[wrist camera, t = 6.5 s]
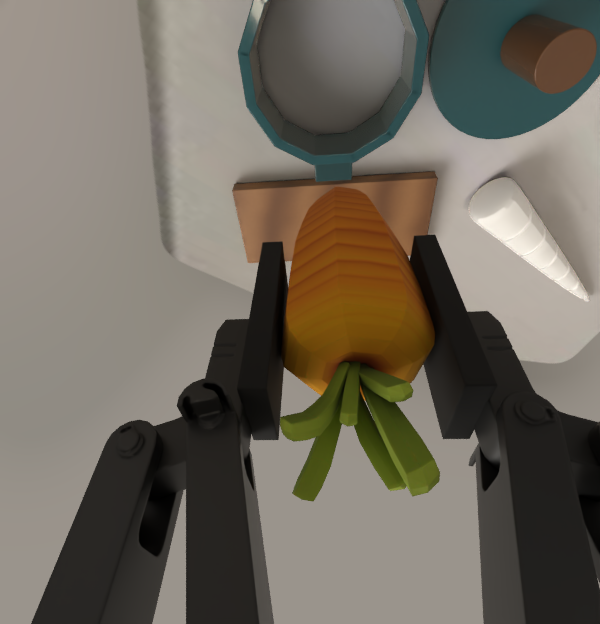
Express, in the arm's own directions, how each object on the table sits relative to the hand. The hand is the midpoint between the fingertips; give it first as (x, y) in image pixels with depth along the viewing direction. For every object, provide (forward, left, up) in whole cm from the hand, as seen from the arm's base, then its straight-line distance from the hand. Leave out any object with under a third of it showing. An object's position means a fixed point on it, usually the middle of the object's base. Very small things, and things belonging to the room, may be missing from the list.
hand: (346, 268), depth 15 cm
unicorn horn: (-23, +17, -25) cm, 38 cm away
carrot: (0, 0, -6) cm, 6 cm away
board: (0, +12, -24) cm, 27 cm away
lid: (-15, -2, -24) cm, 29 cm away
